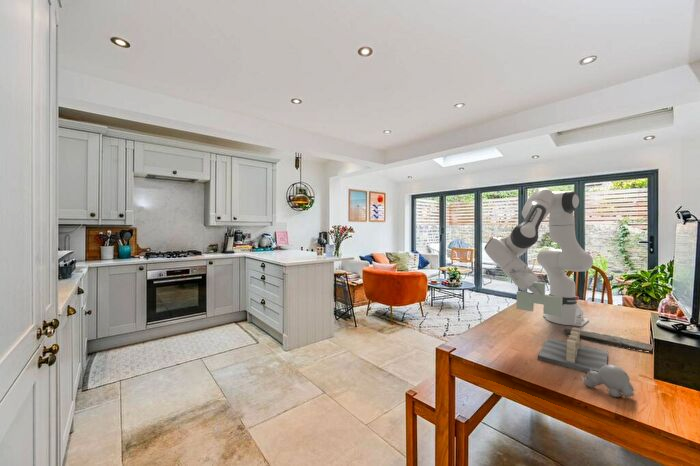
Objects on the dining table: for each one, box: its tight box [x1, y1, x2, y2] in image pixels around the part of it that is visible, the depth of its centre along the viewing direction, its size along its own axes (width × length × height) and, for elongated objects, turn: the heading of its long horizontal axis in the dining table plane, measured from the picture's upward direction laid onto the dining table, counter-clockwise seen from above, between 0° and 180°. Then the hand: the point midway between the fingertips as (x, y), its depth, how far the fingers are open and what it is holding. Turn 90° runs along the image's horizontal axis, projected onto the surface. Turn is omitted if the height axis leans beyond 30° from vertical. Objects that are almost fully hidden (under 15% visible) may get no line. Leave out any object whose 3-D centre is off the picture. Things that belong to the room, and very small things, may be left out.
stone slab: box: [563, 328, 653, 352], centre depth 132 cm, size 10×3×30 cm
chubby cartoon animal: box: [581, 364, 635, 398], centre depth 92 cm, size 7×12×8 cm, turn 42°
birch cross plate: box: [537, 327, 609, 373], centre depth 115 cm, size 24×20×9 cm
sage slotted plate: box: [516, 281, 562, 317], centre depth 123 cm, size 16×2×12 cm, turn 47°
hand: (540, 294), depth 123 cm, fingers closed on sage slotted plate, 2 cm apart
